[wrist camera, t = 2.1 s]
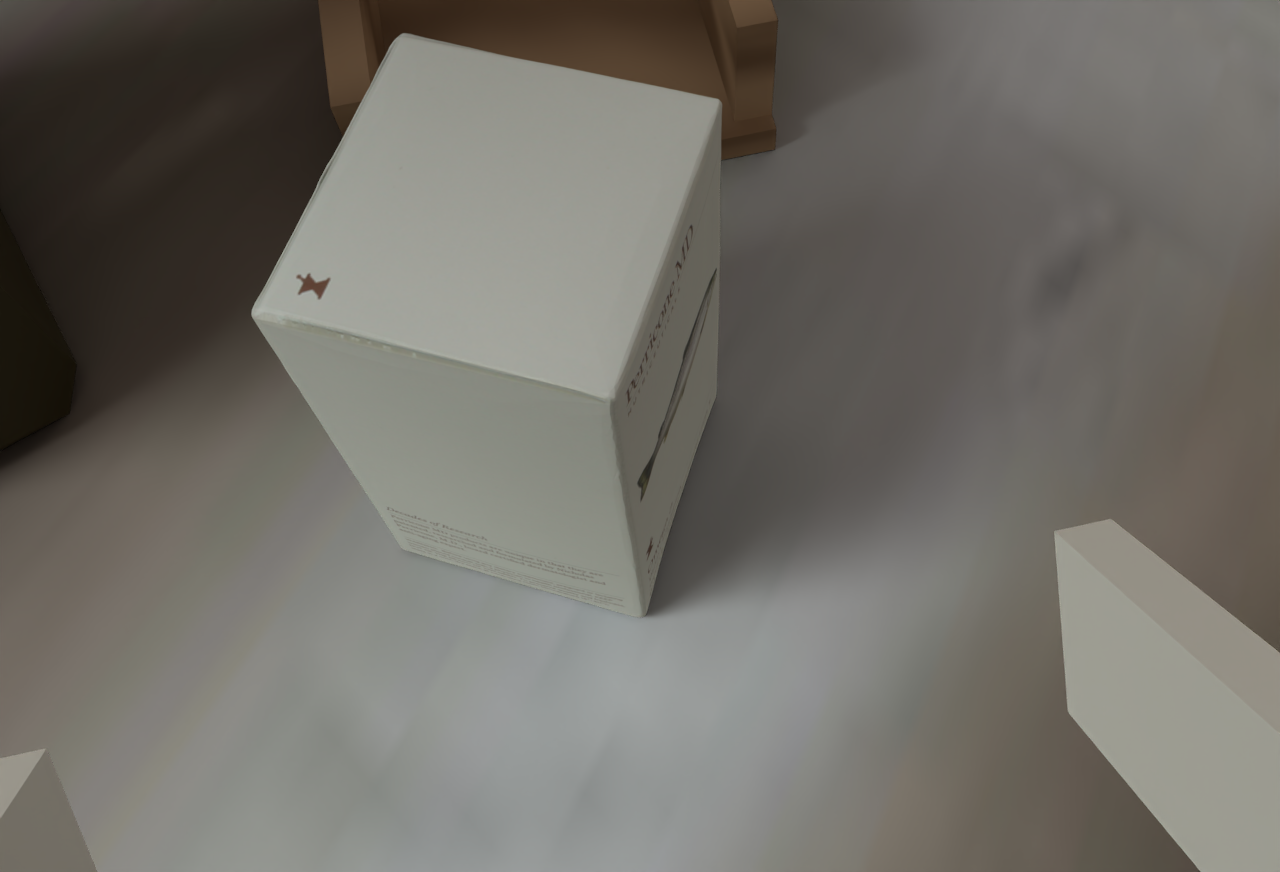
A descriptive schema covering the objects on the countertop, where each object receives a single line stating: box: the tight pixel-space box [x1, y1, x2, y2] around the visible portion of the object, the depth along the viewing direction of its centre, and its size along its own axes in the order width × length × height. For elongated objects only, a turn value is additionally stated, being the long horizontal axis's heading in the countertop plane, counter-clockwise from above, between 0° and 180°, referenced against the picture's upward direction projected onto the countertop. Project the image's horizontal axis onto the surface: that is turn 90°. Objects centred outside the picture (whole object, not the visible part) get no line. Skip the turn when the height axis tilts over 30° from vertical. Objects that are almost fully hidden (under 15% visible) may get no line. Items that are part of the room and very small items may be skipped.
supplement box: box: [252, 33, 722, 618], centre depth 28 cm, size 7×7×13 cm
